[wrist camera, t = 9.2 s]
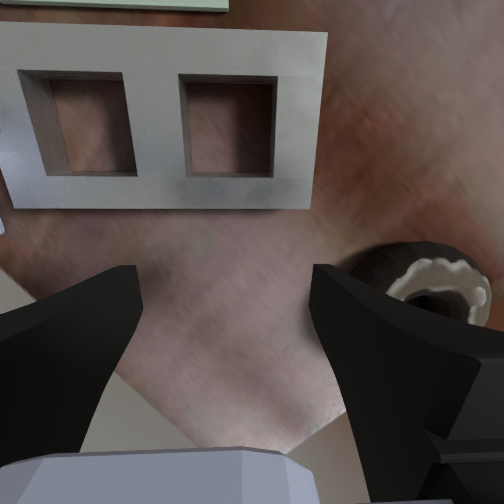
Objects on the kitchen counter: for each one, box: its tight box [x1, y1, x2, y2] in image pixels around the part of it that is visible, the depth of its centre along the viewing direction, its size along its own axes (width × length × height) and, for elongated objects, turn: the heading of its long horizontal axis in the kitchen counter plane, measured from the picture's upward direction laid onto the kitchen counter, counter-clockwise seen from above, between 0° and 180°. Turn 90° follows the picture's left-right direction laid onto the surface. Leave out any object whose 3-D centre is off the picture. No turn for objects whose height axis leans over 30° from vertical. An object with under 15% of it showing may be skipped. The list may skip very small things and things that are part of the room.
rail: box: [0, 22, 328, 209], centre depth 16 cm, size 18×9×2 cm, turn 89°
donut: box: [350, 241, 491, 327], centre depth 21 cm, size 12×12×4 cm
